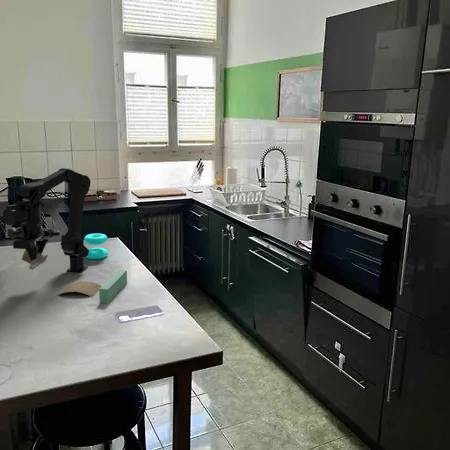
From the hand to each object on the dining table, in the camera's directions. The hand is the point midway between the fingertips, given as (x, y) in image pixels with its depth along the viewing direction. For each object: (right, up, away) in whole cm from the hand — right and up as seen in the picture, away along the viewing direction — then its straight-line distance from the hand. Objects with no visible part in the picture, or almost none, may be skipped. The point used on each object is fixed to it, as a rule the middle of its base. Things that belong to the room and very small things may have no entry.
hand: (35, 260), depth 168 cm
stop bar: (+29, -11, -2) cm, 32 cm away
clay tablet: (+17, -12, -1) cm, 21 cm away
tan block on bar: (-2, 0, 0) cm, 2 cm away
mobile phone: (+42, -16, -19) cm, 49 cm away
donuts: (+12, -1, +38) cm, 40 cm away
